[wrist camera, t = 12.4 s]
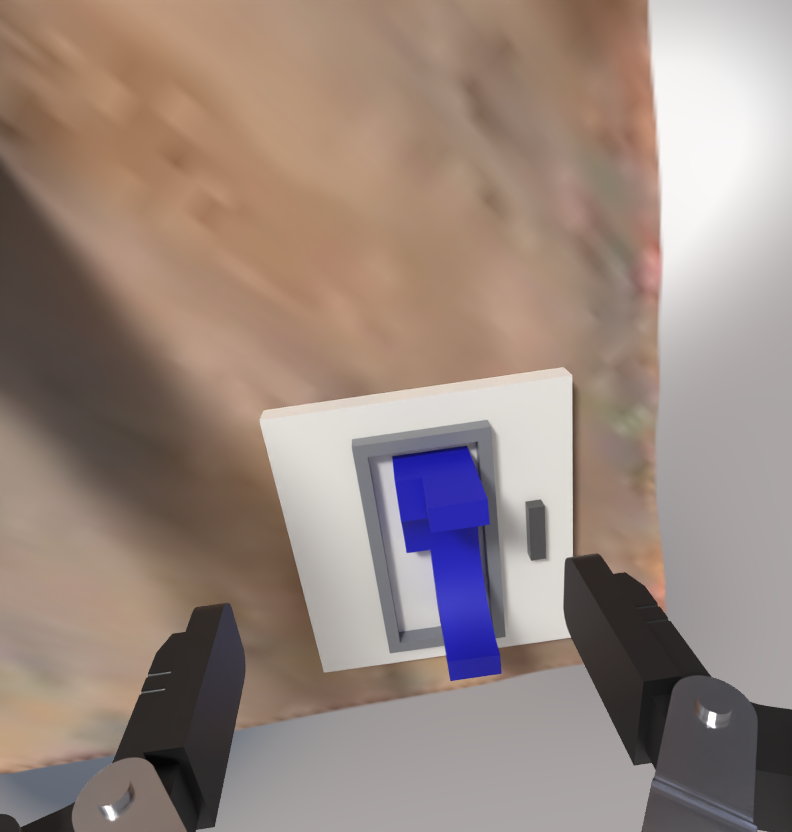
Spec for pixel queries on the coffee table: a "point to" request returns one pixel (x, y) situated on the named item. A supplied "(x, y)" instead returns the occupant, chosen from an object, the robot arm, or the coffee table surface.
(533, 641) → the board
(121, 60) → the coffee table surface
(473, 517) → the cable clip
